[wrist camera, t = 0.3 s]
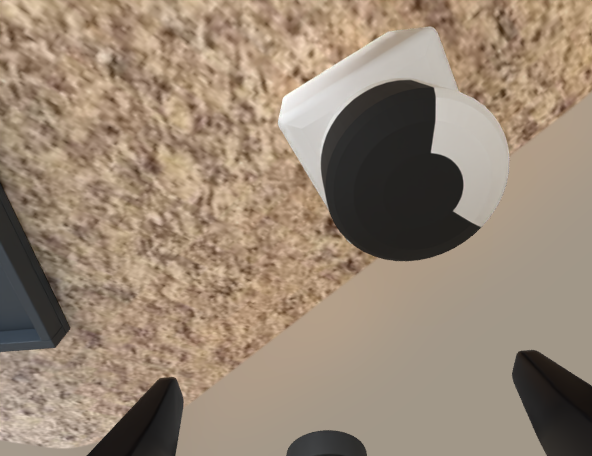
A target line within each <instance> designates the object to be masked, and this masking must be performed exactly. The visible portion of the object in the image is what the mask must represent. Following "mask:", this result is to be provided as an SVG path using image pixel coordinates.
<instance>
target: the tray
mask: <svg viewBox="0 0 592 456" xmlns="http://www.w3.org/2000/svg"><path fill="white" fill-rule="evenodd" d="M69 330H70V327H69V325H68V323H67V321H66V319H65V317H64V315H63V313H62V310H61V308H60V306H59V304H58V302H57V300H56V298H55V296H54V294H53V292H52V290H51V288H50V286H49V283H48V281H47V279H46V277H45V275H44V273H43V271H42V269H41V267H40V265H39V263H38V261H37V259H36V256H35V254H34V252H33V250H32V248H31V246H30V244H29V242H28V240H27V238H26V236H25V234H24V232H23V230H22V227H21V225H20V223H19V221H18V219H17V217H16V215H15V213H14V211H13V209H12V207H11V205H10V203H9V200H8V198H7V196H6V194H5V192H4V190H3V188H2V186H1V184H0V352H6V351H20V350H33V349H46V348H56V346H57V345H58V344H59V343H60V341H61V340H62V339H63V337H64V336H65V335H66V334H67V332H68V331H69Z"/></svg>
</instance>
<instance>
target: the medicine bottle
mask: <svg viewBox="0 0 592 456" xmlns="http://www.w3.org/2000/svg"><path fill="white" fill-rule="evenodd" d="M278 125H279V128H280V129H281V131H282V133H283V134H284V136H285V138H286V139H287V141H288V143H289V144H290V146H291V148H292V149H293V151H294V153H295V154H296V156H297V158H298V159H299V161H300V163H301V164H302V166H303V168H304V169H305V171H306V173H307V175H308V176H309V178H310V180H311V181H312V183H313V185H314V186H315V188H316V190H317V191H318V193H319V195H320V196H321V198H322V200H323V201H324V203H325V205H326V206H327V208H328V210H329V212H330V215H331V217H332V219H333V221H334V223H335V225H336V226H337V228H338V229H339V231H340V232H341V233H342V234H343V236H344V237H345V238H346V240H347V241H348V242H349V243H351V244H353V245H354V246H355V247H357V248H359V249H360V250H362V251H364V252H366V253H368V254H370V255H373V256H375V257H379V258H382V259H387V260H393V261H414V260H421V259H426V258H430V257H434V256H436V255H439V254H442V253H445V252H447V251H449V250H451V249H453V248H455V247H457V246H458V245H460V244H462V243H463V242H465V241H466V240H467V239H469V238H470V237H471V236H473V235H474V234H475V233H476V232H477V231H478V230H479V229H480V228H481V227H482V226H483V225H484V224H485V223H486V221H487V220H488V219H489V218H490V216H491V215H492V213H493V212H494V210H495V209H496V207H497V206H498V204H499V201H500V199H501V198H502V195H503V193H504V190H505V187H506V184H507V179H508V174H509V161H510V158H509V149H508V144H507V141H506V137H505V134H504V132H503V130H502V128H501V126H500V124H499V122H498V121H497V120H496V118H495V117H494V115H493V114H492V113H491V112H490V111H489V110H488V109H487V108H486V107H485V106H484V105H483V104H481V103H480V102H478V101H477V100H475V99H474V98H472V97H470V96H468V95H466V94H463V93H461V92H459V90H458V87H457V85H456V82H455V79H454V76H453V74H452V71H451V68H450V65H449V63H448V60H447V57H446V54H445V52H444V49H443V46H442V43H441V41H440V38H439V35H438V32H437V31H436V30H435V28H433V27H430V26H429V27H420V28H412V29H404V30H396V31H389V32H387V33H385V34H383V35H382V36H380V37H379V38H377V39H375V40H374V41H372V42H370V43H369V44H367V45H366V46H364V47H362V48H361V49H359V50H358V51H356V52H354V53H353V54H351V55H350V56H348V57H346V58H345V59H343V60H342V61H340V62H338V63H337V64H335V65H334V66H332V67H330V68H329V69H327V70H326V71H324V72H322V73H321V74H319V75H317V76H316V77H314V78H313V79H311V80H309V81H308V82H306V83H305V84H303V85H301V86H300V87H298V88H297V89H295V90H293V91H292V92H290V93H289V94H287V95H285V96H284V98H283V101H282V106H281V110H280V115H279V120H278Z"/></svg>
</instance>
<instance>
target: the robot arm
mask: <svg viewBox="0 0 592 456" xmlns="http://www.w3.org/2000/svg"><path fill="white" fill-rule="evenodd" d="M512 377H513V382H514V384H515V387H516V389H517V391H518V393H519V396H520V398H521V400H522V403H523V405H524V407H525V409H526V412H527V414H528V416H529V419H530V421H531V423H532V426H533V428H534V430H535V433H536V435H537V437H538V439H539V441H540V443H541V445H542V447H543V449H544V451H545V453H546V454H547V456H592V386H591V385H590V384H588V383H586V382H585V381H583V380H582V379H580V378H579V377H577V376H575V375H574V374H572V373H571V372H569V371H568V370H566V369H565V368H563V367H561V366H560V365H558V364H557V363H555V362H554V361H552V360H551V359H549V358H547V357H546V356H544V355H543V354H541V353H540V352H538V351H535V350H527V351H519V352H518V353H517V355H516V359H515V363H514V368H513V372H512ZM183 403H184V402H183V396H182V393H181V390H180V387H179V384H178V382H177V379H176V378H175V377H166V378H160V379H159V380H157V381H156V382H155V384H154V385H153V386H152V387H151V388H150V389H149V390H148V391H147V392H146V393H145V394H144V395H143V396H142V397H141V398H140V400H139V401H138V402H137V403H136V404H135V405H134V406H133V407H132V408H131V409H130V410H129V411H128V412H127V413H126V414H125V416H124V417H123V418H122V419H121V420H120V421H119V422H118V423H117V424H116V425H115V426H114V427H113V428H112V429H111V430H110V432H109V433H108V434H107V435H106V436H105V437H104V438H103V439H102V440H101V441H100V442H99V443H98V444H97V445H96V446H95V448H94V449H93V450H92V451H91V452H90V453H89V454H88V455H87V456H175V454H176V448H177V441H178V436H179V429H180V424H181V417H182V411H183Z"/></svg>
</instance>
